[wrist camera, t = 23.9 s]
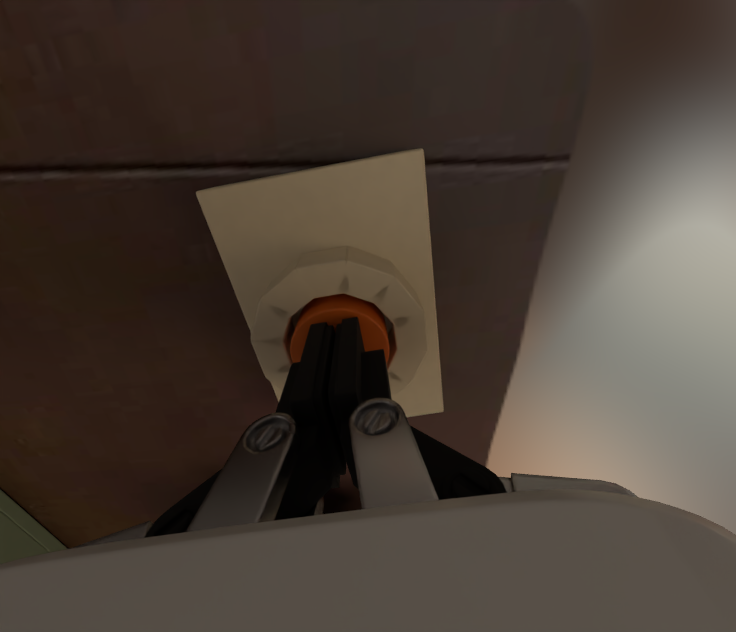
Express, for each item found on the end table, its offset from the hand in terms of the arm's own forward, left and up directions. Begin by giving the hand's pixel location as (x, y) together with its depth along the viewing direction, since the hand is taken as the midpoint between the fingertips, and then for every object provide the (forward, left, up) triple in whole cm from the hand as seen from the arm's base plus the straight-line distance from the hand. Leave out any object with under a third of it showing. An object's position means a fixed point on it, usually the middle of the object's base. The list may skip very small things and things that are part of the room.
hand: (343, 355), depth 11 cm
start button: (0, 0, -2) cm, 2 cm away
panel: (0, 0, -5) cm, 5 cm away
